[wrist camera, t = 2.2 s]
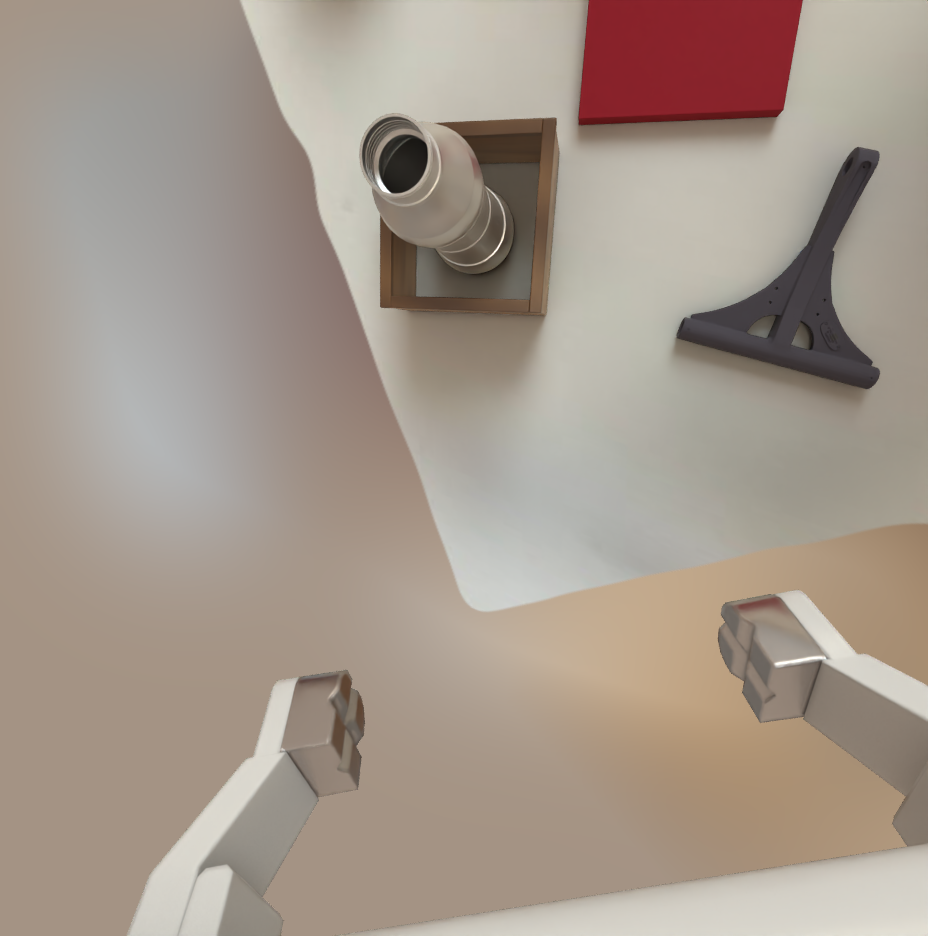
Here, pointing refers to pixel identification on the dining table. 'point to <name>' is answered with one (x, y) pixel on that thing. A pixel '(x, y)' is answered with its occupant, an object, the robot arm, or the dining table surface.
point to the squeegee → (800, 299)
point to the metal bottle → (435, 192)
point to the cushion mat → (686, 59)
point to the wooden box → (535, 145)
